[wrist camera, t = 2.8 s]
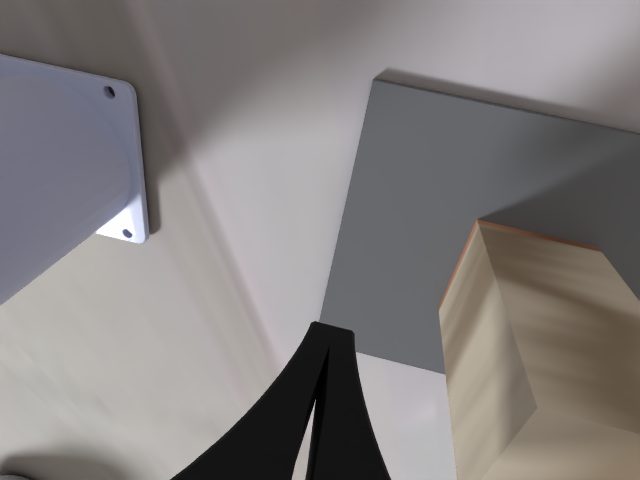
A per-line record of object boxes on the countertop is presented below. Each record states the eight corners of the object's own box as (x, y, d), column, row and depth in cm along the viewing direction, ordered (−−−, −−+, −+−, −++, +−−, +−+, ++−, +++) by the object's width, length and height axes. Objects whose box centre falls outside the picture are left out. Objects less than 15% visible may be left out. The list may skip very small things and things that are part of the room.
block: (438, 306, 19) (460, 506, 12) (476, 219, 17) (537, 408, 9) (541, 331, 19) (631, 553, 11) (598, 246, 16) (765, 466, 9)
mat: (316, 336, 22) (314, 341, 22) (373, 78, 15) (372, 80, 14) (678, 427, 21) (682, 434, 21) (947, 197, 13) (960, 203, 13)
